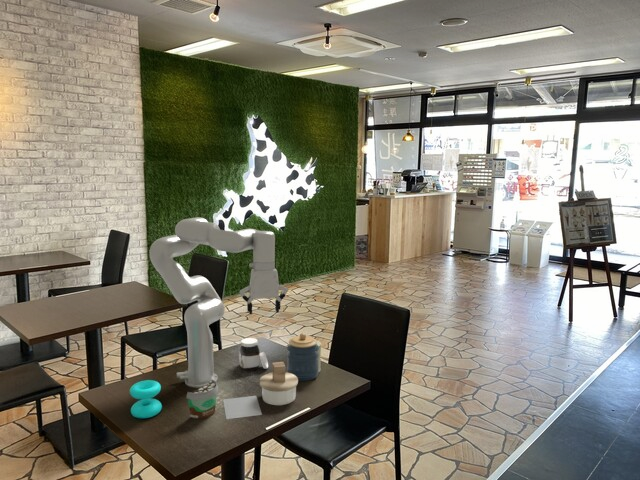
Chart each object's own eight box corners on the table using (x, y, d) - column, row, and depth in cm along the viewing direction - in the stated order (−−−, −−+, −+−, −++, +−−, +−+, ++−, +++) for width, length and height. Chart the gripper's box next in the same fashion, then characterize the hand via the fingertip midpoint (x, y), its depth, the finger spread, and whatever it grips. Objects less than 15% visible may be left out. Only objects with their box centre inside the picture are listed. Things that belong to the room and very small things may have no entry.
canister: (314, 383, 188) (314, 340, 185) (282, 379, 191) (282, 337, 188) (321, 369, 200) (322, 329, 198) (291, 366, 203) (291, 326, 200)
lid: (257, 376, 180) (256, 358, 179) (293, 372, 184) (293, 355, 182) (262, 393, 167) (262, 374, 165) (301, 389, 170) (302, 370, 169)
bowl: (265, 407, 169) (265, 391, 168) (260, 392, 180) (260, 377, 179) (298, 403, 172) (298, 388, 171) (291, 388, 183) (291, 373, 182)
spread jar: (237, 364, 205) (236, 338, 203) (262, 359, 210) (262, 334, 208) (246, 375, 194) (245, 348, 193) (272, 370, 200) (272, 343, 198)
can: (325, 368, 202) (325, 341, 200) (312, 376, 194) (313, 348, 192) (307, 363, 207) (307, 336, 205) (294, 370, 199) (294, 343, 197)
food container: (200, 426, 157) (199, 397, 155) (187, 420, 160) (186, 392, 158) (226, 410, 167) (225, 383, 165) (213, 405, 170) (212, 378, 169)
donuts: (164, 386, 162) (134, 394, 156) (165, 414, 164) (135, 423, 158) (155, 376, 170) (126, 383, 164) (156, 402, 172) (127, 410, 166)
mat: (226, 420, 160) (226, 419, 160) (223, 400, 174) (223, 399, 173) (262, 415, 163) (262, 414, 163) (256, 396, 177) (256, 395, 177)
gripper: (240, 269, 164) (240, 317, 167) (290, 267, 169) (289, 314, 171) (238, 264, 171) (238, 310, 174) (285, 262, 176) (285, 307, 178)
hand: (263, 312), depth 172 cm, fingers open, 9 cm apart
